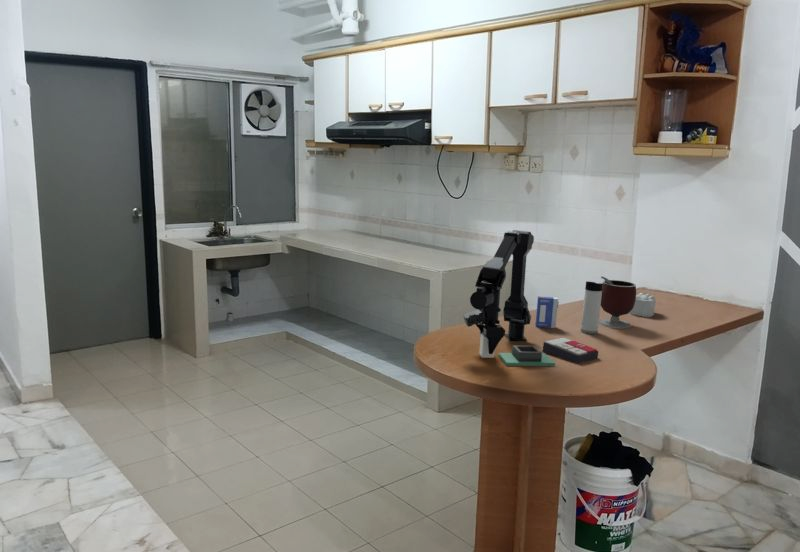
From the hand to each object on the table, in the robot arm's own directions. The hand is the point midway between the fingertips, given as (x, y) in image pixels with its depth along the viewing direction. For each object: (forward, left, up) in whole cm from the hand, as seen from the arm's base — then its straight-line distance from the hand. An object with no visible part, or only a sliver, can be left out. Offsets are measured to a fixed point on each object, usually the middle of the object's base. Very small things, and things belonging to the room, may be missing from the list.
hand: (487, 349), depth 220 cm
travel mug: (-31, +48, -2) cm, 57 cm away
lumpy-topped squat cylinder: (-63, +85, -2) cm, 106 cm away
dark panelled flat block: (-2, +30, -3) cm, 30 cm away
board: (+5, +12, -2) cm, 13 cm away
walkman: (-38, +33, -2) cm, 50 cm away
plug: (0, 0, -2) cm, 2 cm away
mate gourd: (-43, +63, -2) cm, 76 cm away
